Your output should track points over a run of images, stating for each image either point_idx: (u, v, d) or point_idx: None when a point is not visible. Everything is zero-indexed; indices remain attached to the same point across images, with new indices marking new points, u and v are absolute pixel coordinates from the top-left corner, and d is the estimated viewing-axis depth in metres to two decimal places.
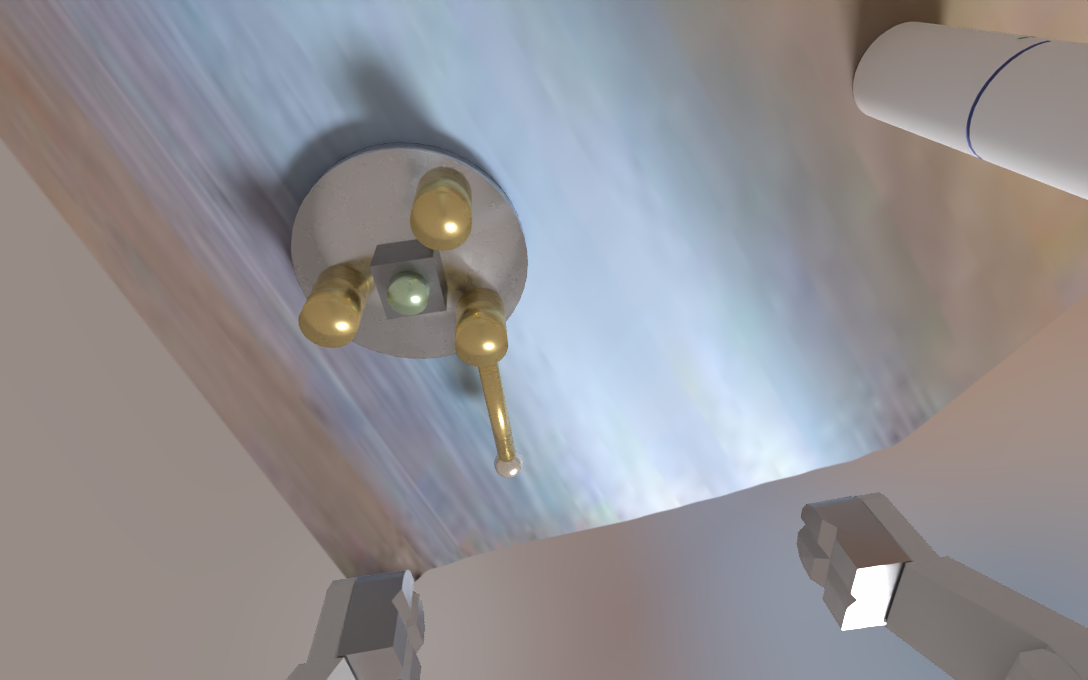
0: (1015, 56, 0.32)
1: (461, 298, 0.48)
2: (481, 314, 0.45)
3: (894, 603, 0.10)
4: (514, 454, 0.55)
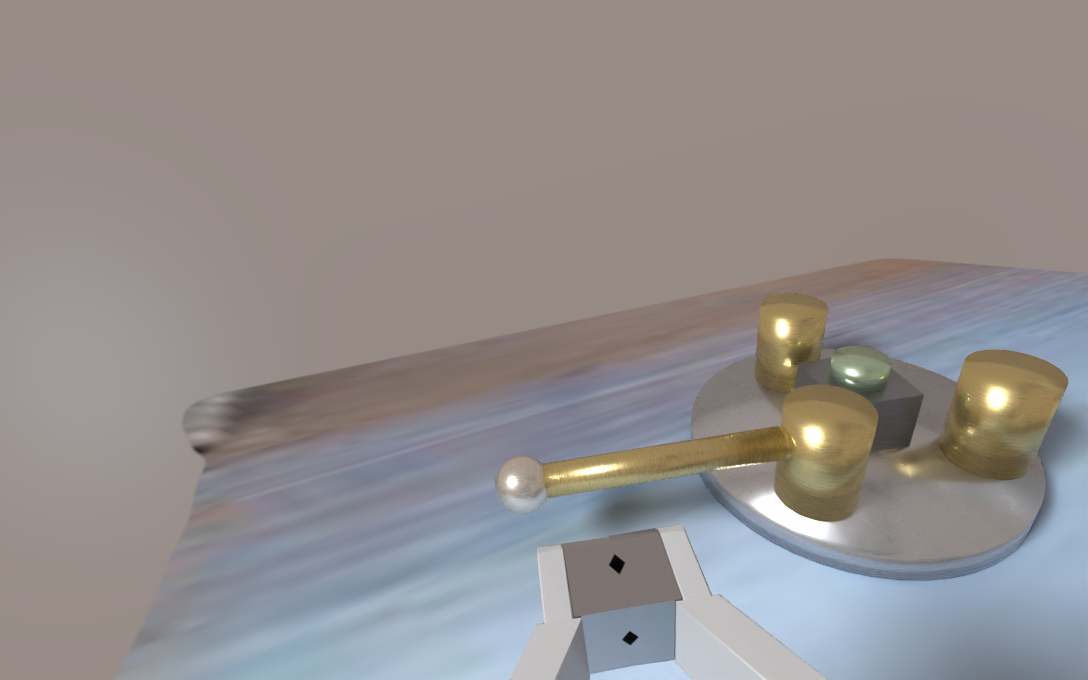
0: None
1: None
2: None
3: (676, 640, 0.10)
4: (552, 485, 0.28)
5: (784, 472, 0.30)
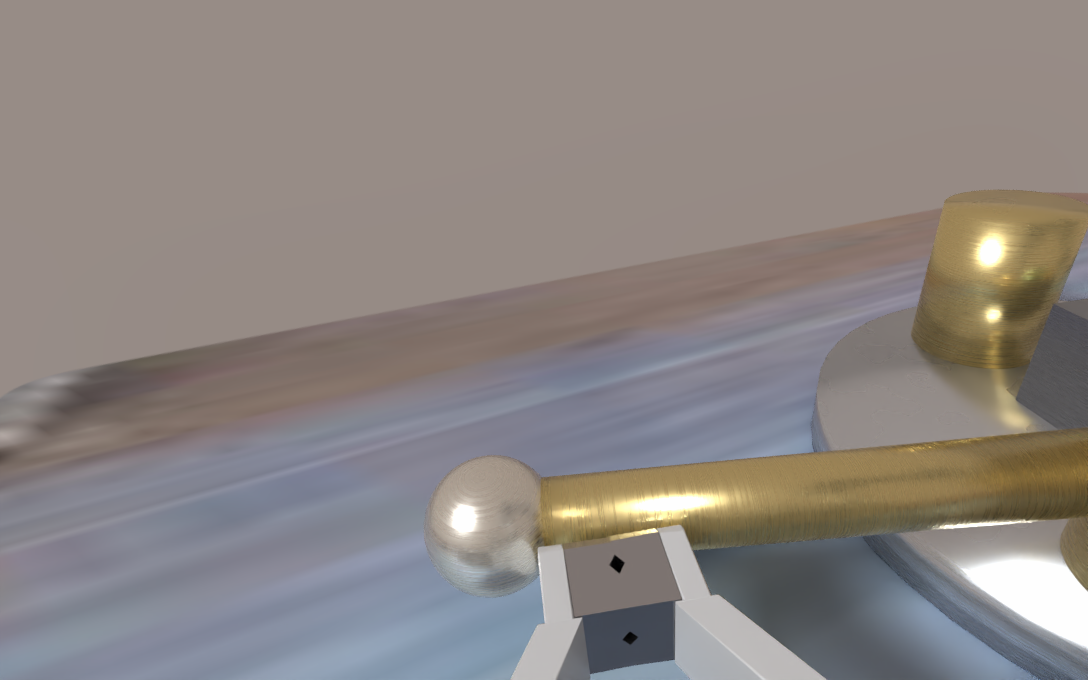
0: None
1: None
2: None
3: (676, 640, 0.10)
4: (561, 534, 0.11)
5: None
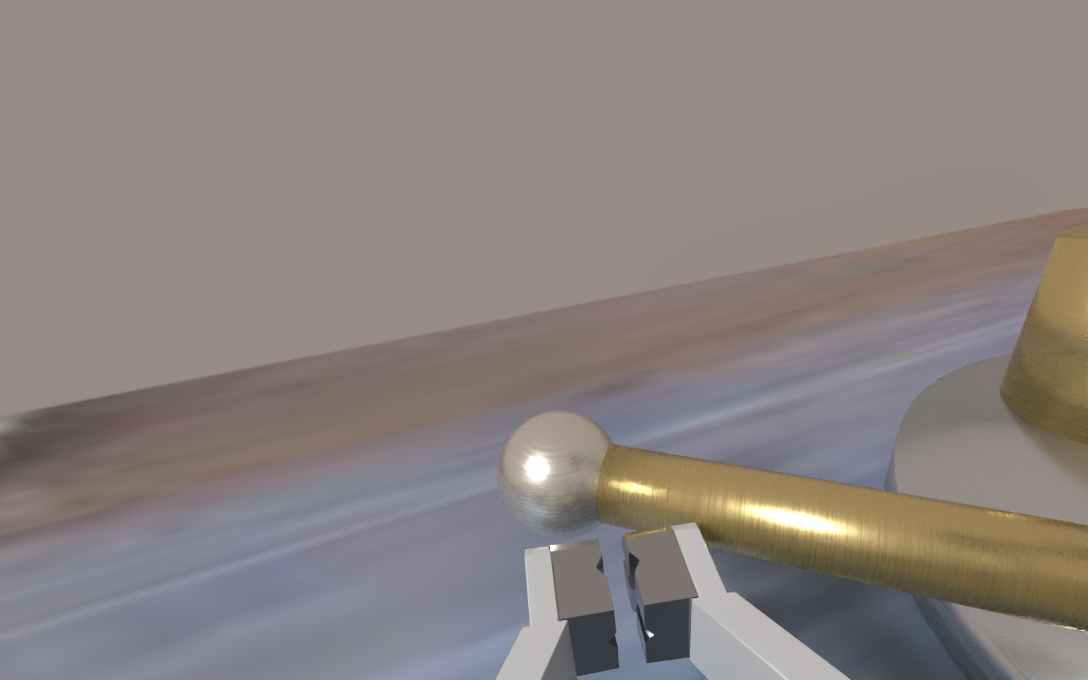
0: None
1: None
2: None
3: (691, 637, 0.10)
4: (612, 498, 0.12)
5: None
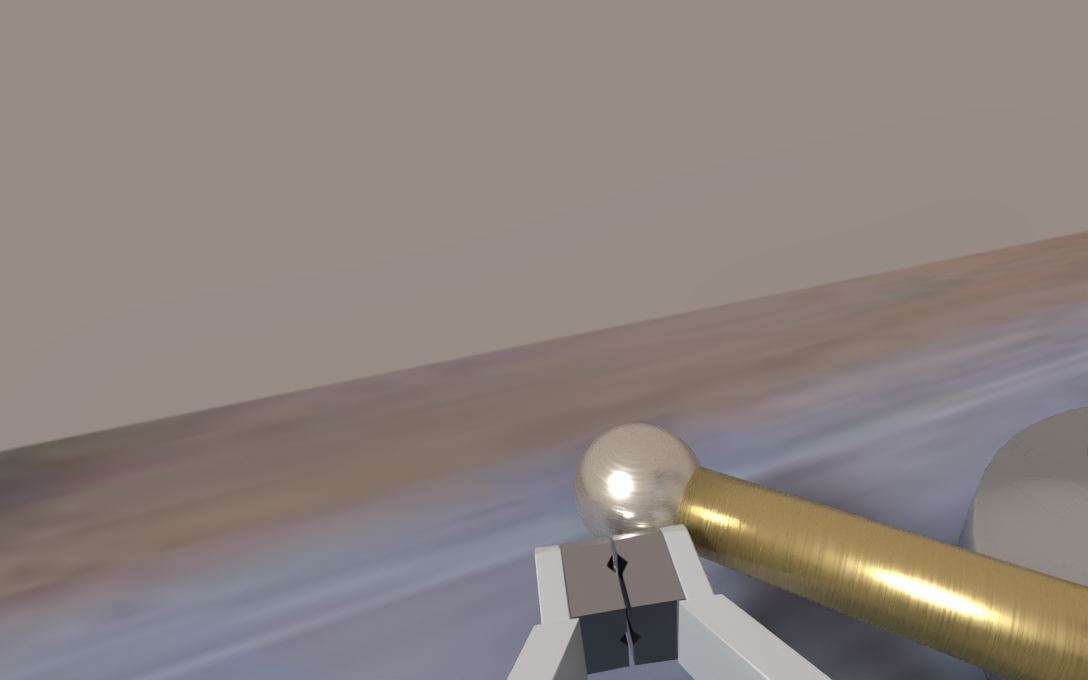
0: None
1: None
2: None
3: (679, 639, 0.10)
4: (694, 526, 0.11)
5: None
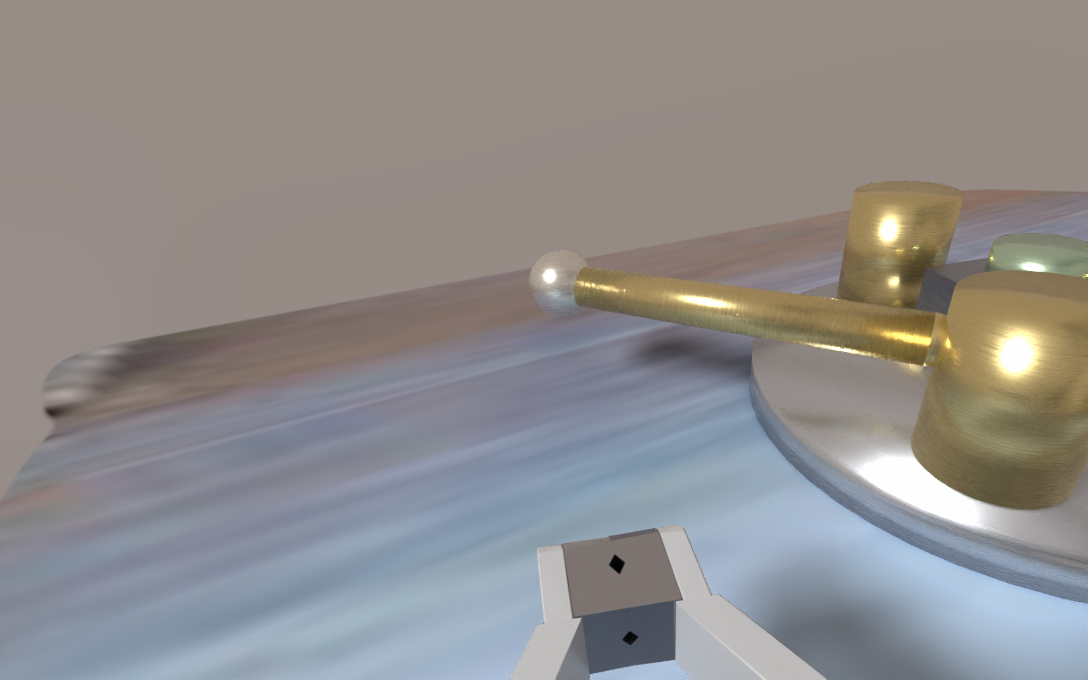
0: None
1: None
2: None
3: (676, 640, 0.10)
4: (581, 286, 0.23)
5: (926, 395, 0.18)
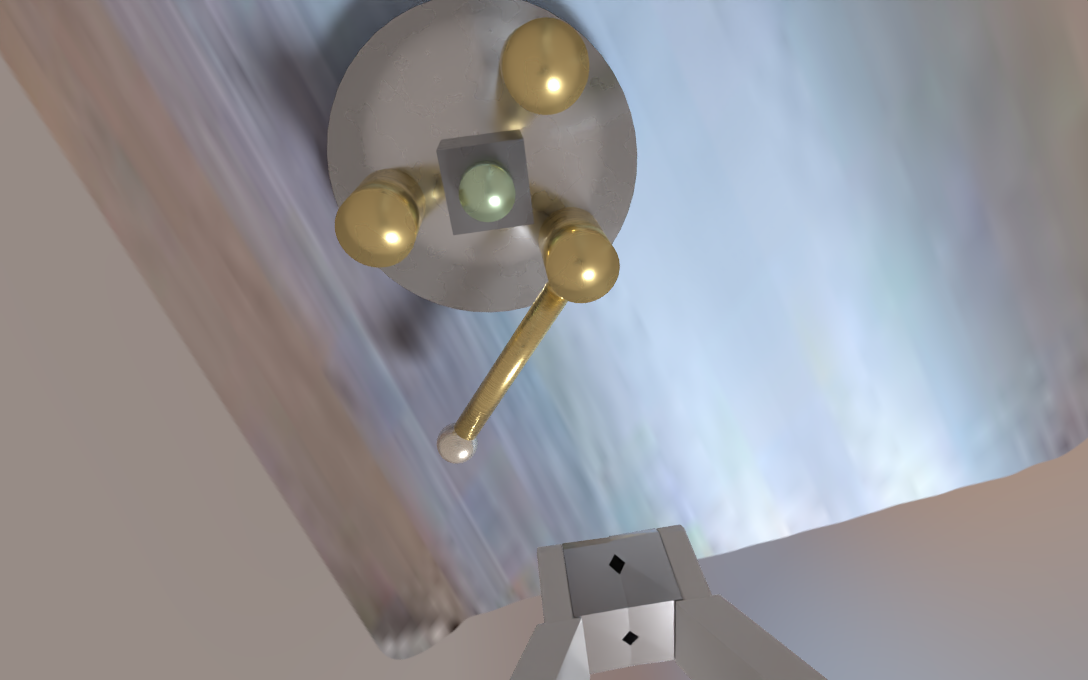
0: None
1: (567, 210, 0.36)
2: (604, 235, 0.33)
3: (676, 640, 0.10)
4: (476, 435, 0.39)
5: None
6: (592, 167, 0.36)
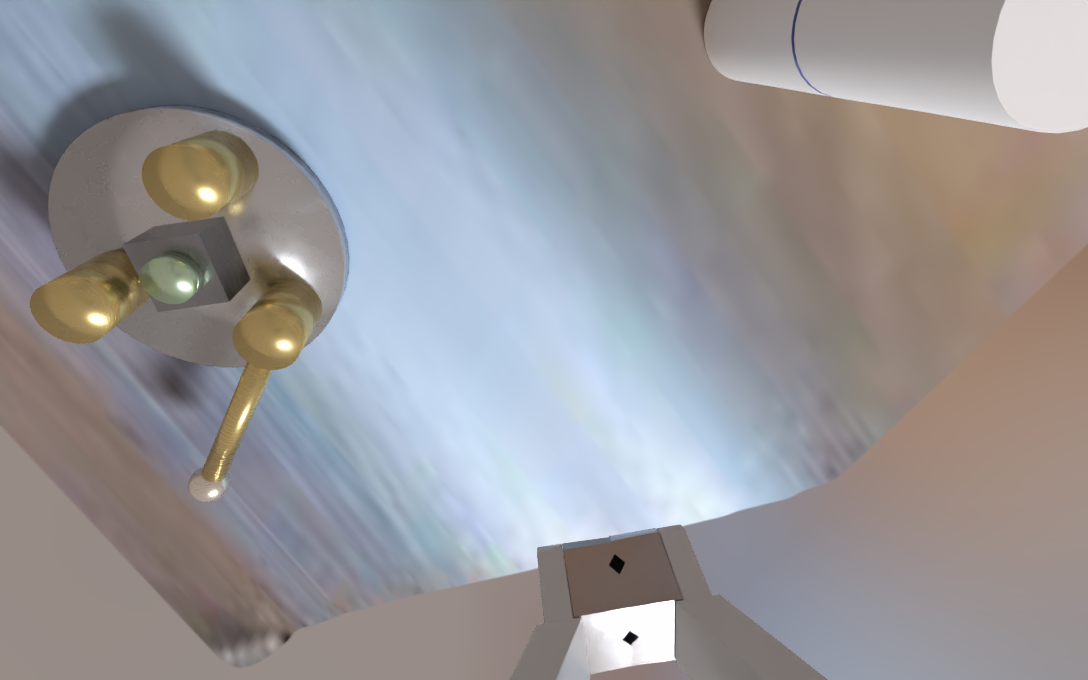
0: None
1: (279, 283, 0.41)
2: (289, 311, 0.38)
3: (676, 640, 0.10)
4: (222, 477, 0.44)
5: None
6: (299, 246, 0.41)
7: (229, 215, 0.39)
